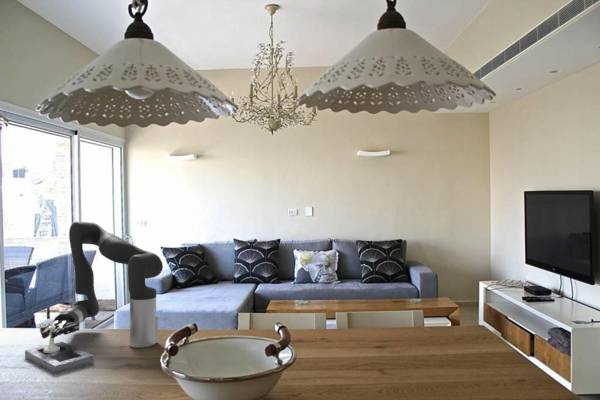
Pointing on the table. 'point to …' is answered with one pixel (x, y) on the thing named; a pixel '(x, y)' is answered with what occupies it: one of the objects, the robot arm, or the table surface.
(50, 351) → the chess piece
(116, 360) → the table surface
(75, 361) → the grey two-window frame
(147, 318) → the robot arm
